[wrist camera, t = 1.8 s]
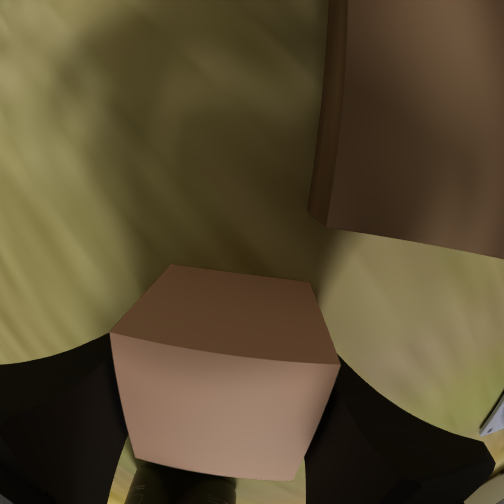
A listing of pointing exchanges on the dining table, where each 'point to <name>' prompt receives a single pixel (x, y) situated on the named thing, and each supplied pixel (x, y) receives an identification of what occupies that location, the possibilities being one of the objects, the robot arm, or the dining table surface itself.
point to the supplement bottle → (178, 487)
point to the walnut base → (413, 123)
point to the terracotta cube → (224, 372)
